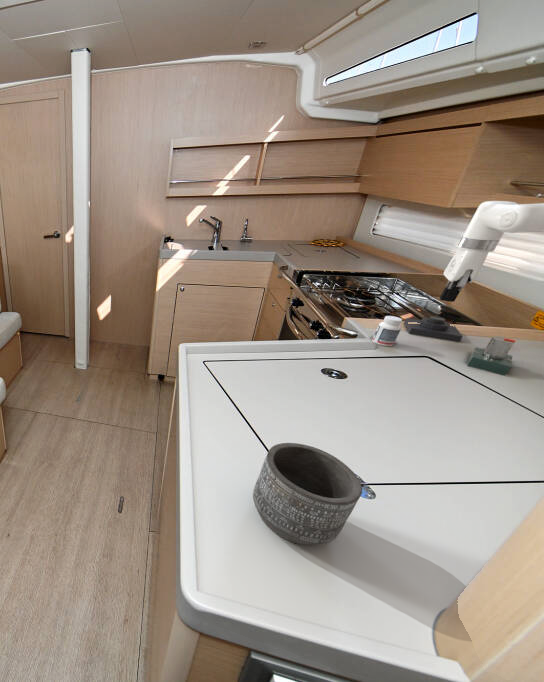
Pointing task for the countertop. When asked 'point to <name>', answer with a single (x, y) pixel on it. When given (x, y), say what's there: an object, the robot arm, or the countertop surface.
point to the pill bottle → (387, 331)
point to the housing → (433, 330)
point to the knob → (498, 347)
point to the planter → (305, 493)
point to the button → (436, 320)
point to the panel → (489, 362)
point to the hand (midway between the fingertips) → (446, 300)
